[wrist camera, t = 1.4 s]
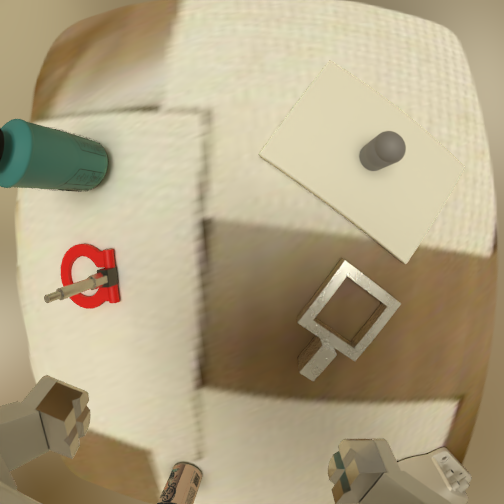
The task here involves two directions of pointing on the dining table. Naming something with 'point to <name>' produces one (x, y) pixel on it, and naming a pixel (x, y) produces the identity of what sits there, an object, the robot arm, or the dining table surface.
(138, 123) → the dining table surface
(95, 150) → the beverage bottle
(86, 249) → the tow hook
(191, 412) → the dining table surface
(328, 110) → the board
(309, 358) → the steel link
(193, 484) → the beer can
